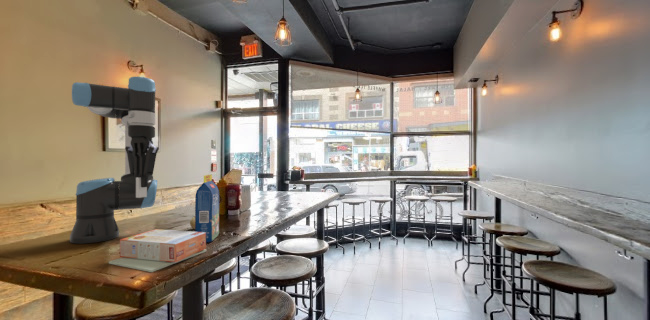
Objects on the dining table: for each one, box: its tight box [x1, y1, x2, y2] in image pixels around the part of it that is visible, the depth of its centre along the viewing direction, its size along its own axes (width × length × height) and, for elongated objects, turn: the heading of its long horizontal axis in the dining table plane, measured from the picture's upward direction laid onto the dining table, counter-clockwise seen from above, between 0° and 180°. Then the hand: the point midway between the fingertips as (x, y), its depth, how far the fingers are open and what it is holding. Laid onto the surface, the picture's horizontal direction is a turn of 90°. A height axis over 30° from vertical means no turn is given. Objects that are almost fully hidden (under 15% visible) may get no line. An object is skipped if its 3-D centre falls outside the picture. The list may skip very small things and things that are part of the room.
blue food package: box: [194, 174, 220, 243], centre depth 115 cm, size 6×12×25 cm, turn 8°
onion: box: [189, 216, 195, 231], centre depth 130 cm, size 8×8×7 cm
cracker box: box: [119, 228, 207, 264], centre depth 94 cm, size 14×6×21 cm
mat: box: [108, 248, 208, 273], centre depth 92 cm, size 18×20×1 cm
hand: (141, 197), depth 96 cm, fingers closed
